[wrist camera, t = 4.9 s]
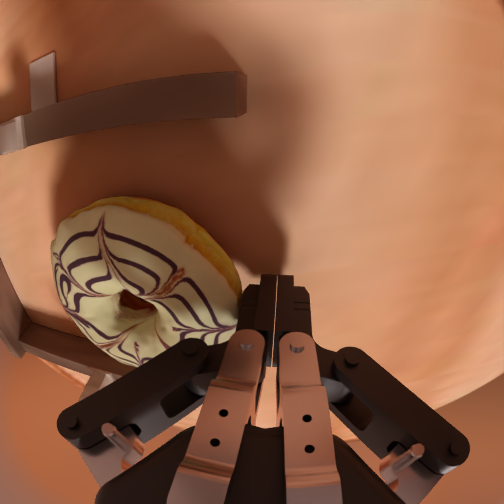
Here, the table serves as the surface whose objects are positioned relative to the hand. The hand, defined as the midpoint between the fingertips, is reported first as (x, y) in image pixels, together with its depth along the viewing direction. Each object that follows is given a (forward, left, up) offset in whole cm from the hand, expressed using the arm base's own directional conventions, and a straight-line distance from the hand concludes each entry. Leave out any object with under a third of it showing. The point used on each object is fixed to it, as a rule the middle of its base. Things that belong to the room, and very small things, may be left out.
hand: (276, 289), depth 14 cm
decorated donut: (0, -7, -1) cm, 7 cm away
